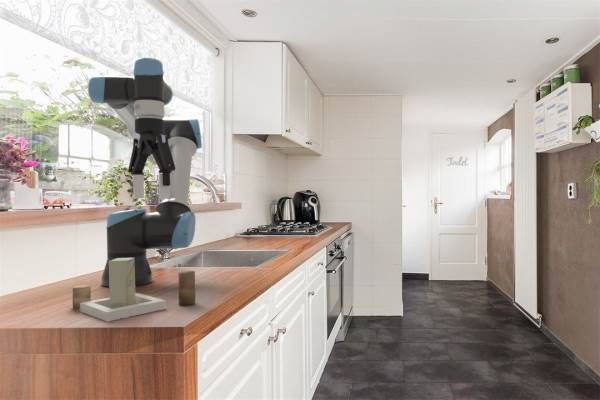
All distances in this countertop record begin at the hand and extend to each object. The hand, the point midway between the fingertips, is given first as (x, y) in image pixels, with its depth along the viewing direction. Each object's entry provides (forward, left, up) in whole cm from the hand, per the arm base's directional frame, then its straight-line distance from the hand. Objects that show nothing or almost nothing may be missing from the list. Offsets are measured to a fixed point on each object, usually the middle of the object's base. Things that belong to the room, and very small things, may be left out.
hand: (151, 198), depth 116 cm
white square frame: (+7, -11, -26) cm, 30 cm away
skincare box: (+6, -11, -27) cm, 30 cm away
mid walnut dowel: (+14, +2, -27) cm, 30 cm away
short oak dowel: (-4, -16, -27) cm, 31 cm away
